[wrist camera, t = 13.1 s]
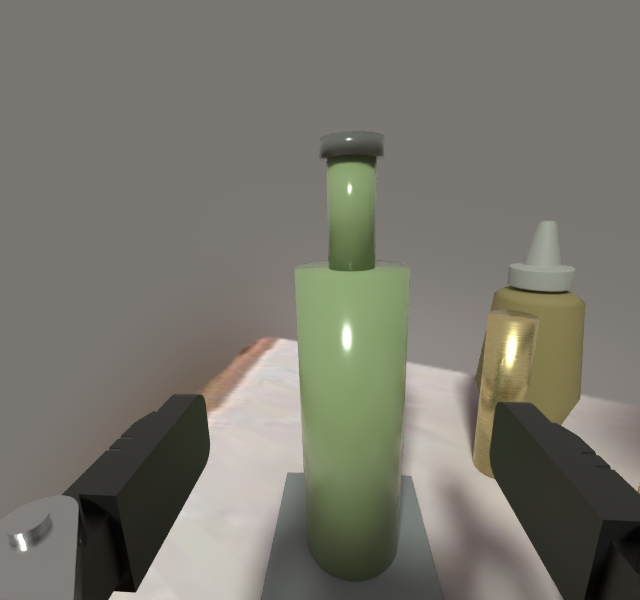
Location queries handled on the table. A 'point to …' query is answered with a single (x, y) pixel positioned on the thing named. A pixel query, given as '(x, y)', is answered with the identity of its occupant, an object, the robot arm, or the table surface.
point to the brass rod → (503, 373)
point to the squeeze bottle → (547, 323)
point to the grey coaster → (336, 594)
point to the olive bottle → (352, 372)
